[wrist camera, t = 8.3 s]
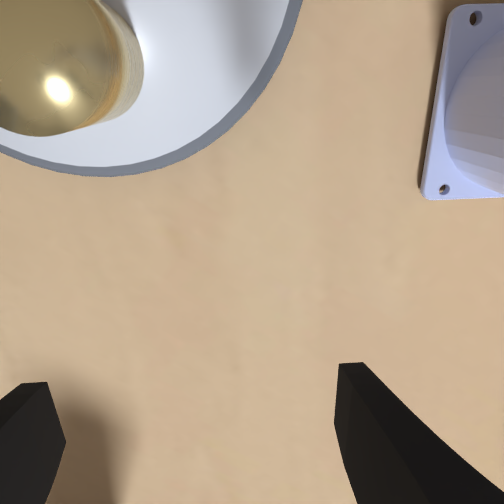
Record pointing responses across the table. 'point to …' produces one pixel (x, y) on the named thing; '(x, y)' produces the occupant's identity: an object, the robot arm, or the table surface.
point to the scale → (174, 86)
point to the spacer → (65, 65)
